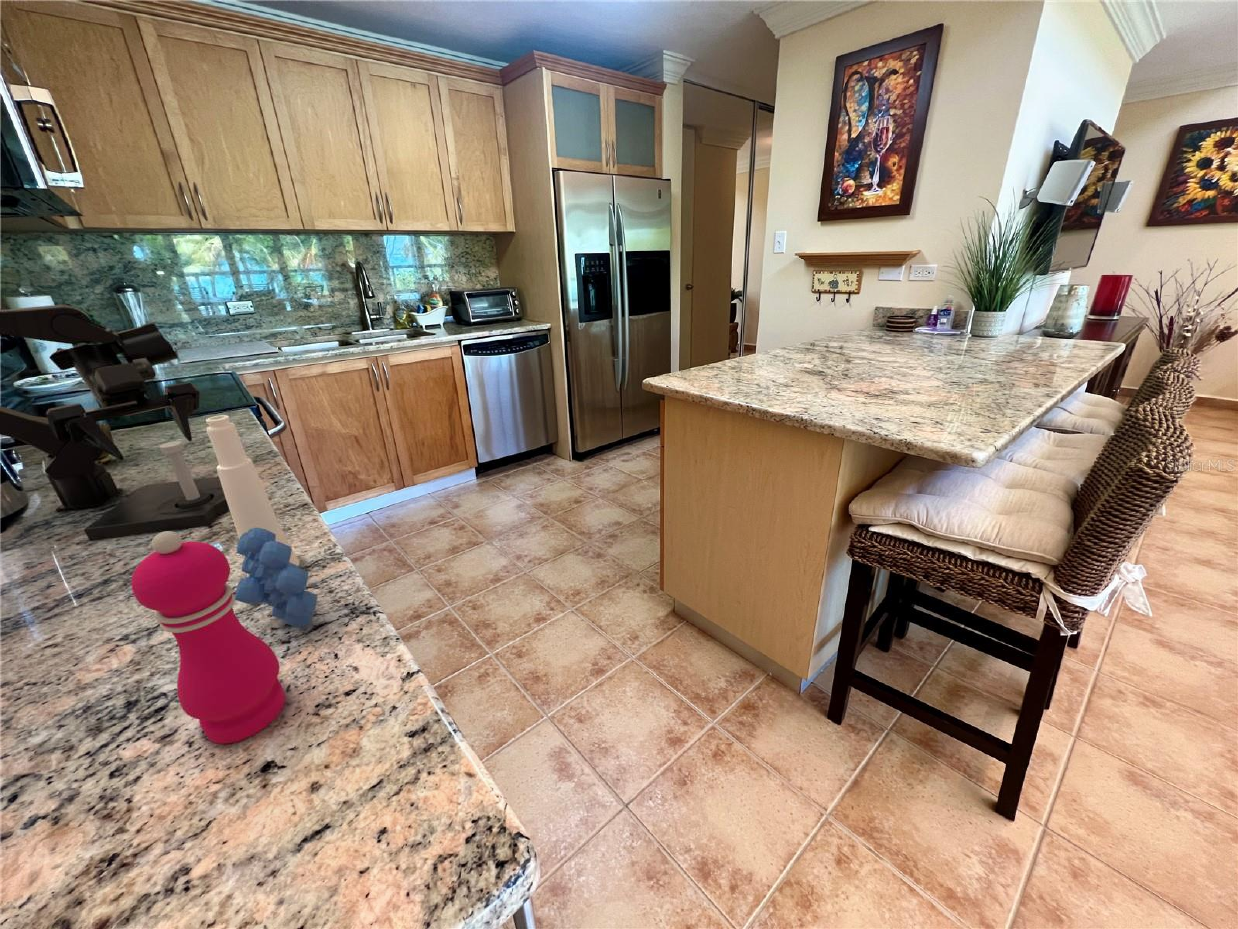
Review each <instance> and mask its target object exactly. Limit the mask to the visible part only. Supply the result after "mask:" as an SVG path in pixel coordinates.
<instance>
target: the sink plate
mask: <svg viewBox="0 0 1238 929" xmlns="http://www.w3.org/2000/svg"><path fill="white" fill-rule="evenodd" d="M193 480H194V483H195V485H196V487H197V490H198V492H208V493H209V494H210V496H211V498H212V500H210V501H208V502H206V503H204V504H201V505H198V506H194V507H190V508H179V507H178V505H177V501H178V500H179V499H180V498H182V497H184V496H185V495H184V493H183V490H182V488H181V486H180V483H179V481H178V480H176V481H175V480H174V481H167V482H158V483H149V484H148V483H147V484H145V485H144V486H142V487H141V488H140V489H138V490H136V491H135V492H134V493H132V494H131V495H129V496H128V497H127V498H126V499H124V500H122V501H121V502H119V504H117V505H116V506H114V507H113V508H111V509H110V510H109V511H107V512H106V513H104V514H103V515H101V516H100V517H99V518H97V519H96V520H95V521H93V522H92V523H91V524H89V525H88V526H86V527H85V528H84V529H83V531H84V533H85V535H86V537H87V538H88V540H89V541H97V540H104V539H112V538H118V537H125V536H126V537H127V536H134V535H141V534H150V533H157V532H165V531H172V530H180V529H188V528H195V527H197V528H198V527H204V526H210V524H212V522H213V521H215V519H216V518H217V517H219V516H221V515H222V514H224V513H226V512H228V511H230V509H229V506H228V503H227V500H226V497H225V494H224V491H223V488H222V485H221V482H220V478H219V476H212V477H211V476H210V477H202V478H195V479H194V478H193Z"/></svg>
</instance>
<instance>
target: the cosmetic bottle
mask: <svg viewBox="0 0 1238 929" xmlns="http://www.w3.org/2000/svg"><path fill="white" fill-rule="evenodd" d="M230 420H231V419H230V416H229V415H223V414H222V415H221V414H220V415H215V416H211V417H208V418H206V419H205V422H206V425H208V426H207V427H206V433H207V436H208V439H209V441H210V444H211V446H212V449H213V451H214V454H215V456H216V459H217V462H218V464H217V466H216V473H217V475H218V477H219V478H220V482H221V485H222V488H223V491H224V494H225V497H226V500H227V503H228V506H229V512H230V514H231V515H230V516H231V518H232V519H231V520H232V521H233V524H234V528H235V532H236V534H237V537H238V538H237V539H238V540H239V539H240V537H241V536H242V535H243V533H247V532H248V531H249V530H250V529H252V528H262V529H266V530H268V531H270V532H272V533H274V534H276V539H275V541H276V542H281V543H283V544H285V545H287V546H290V547H291V545H290V543H289V541H288V539H287V537H286V536H285V533H284V531H283V529H282V527H281V525H280V523H279V521H278V518H277V516H276V513H275V510H274V508H273V507H272V504H271V502H270V500H269V497H268V494H267V492H266V489H265V487H264V485H263V482H262V479H261V478H260V475H259V473H258V471H257V469H256V468H257V467H256V466H255V463H254V461H253V460H252V459H251V458H249V457H247V454H246V452H245V449H244V447H243V444H242V440H241V438H240V435H239V433H238V430H237V426H236V425H235V424H234V423H233V422H231V421H230ZM242 556H243V555H242ZM244 558H245V556H243V559H244ZM289 562H290V563H292V564H295V565H297V566H299V567H300V560H299V558H298V556H297V555H296V553H295V552H294V550H293V549H292V550H291V556H290V561H289ZM246 577H249V574H247V573H246Z"/></svg>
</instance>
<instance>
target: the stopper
mask: <svg viewBox="0 0 1238 929" xmlns="http://www.w3.org/2000/svg"><path fill="white" fill-rule="evenodd" d="M184 446H185V445H184V444H183V441H181V440H175V441H174V440H173V441H168V442H165V443H162V444H160V445H159V450H160V452H161V454H162V455H166V456H167V458H168V460H169V463H170V465H171V467H172V469H173V472H174V474H175V476H176V478H177V481H179V483H180V486H181V488H182V490H183V493H184V495H185V496H184V497H182V498H180V499H179V500H178V501H177V505H178V507H179V508H190V507H194V506H198V505H201V504H204V503H206V502H208V501H210V500H212V498H211V496H210V494H209V493H208V492H198V490H197V487H196V485H195V483H194V480H193V479H194V477H193V476H192V473H191V471H190V469H189V466H188V464H187V462H186V459H185V456H184V455H183V451H184V450H185V447H184Z"/></svg>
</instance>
